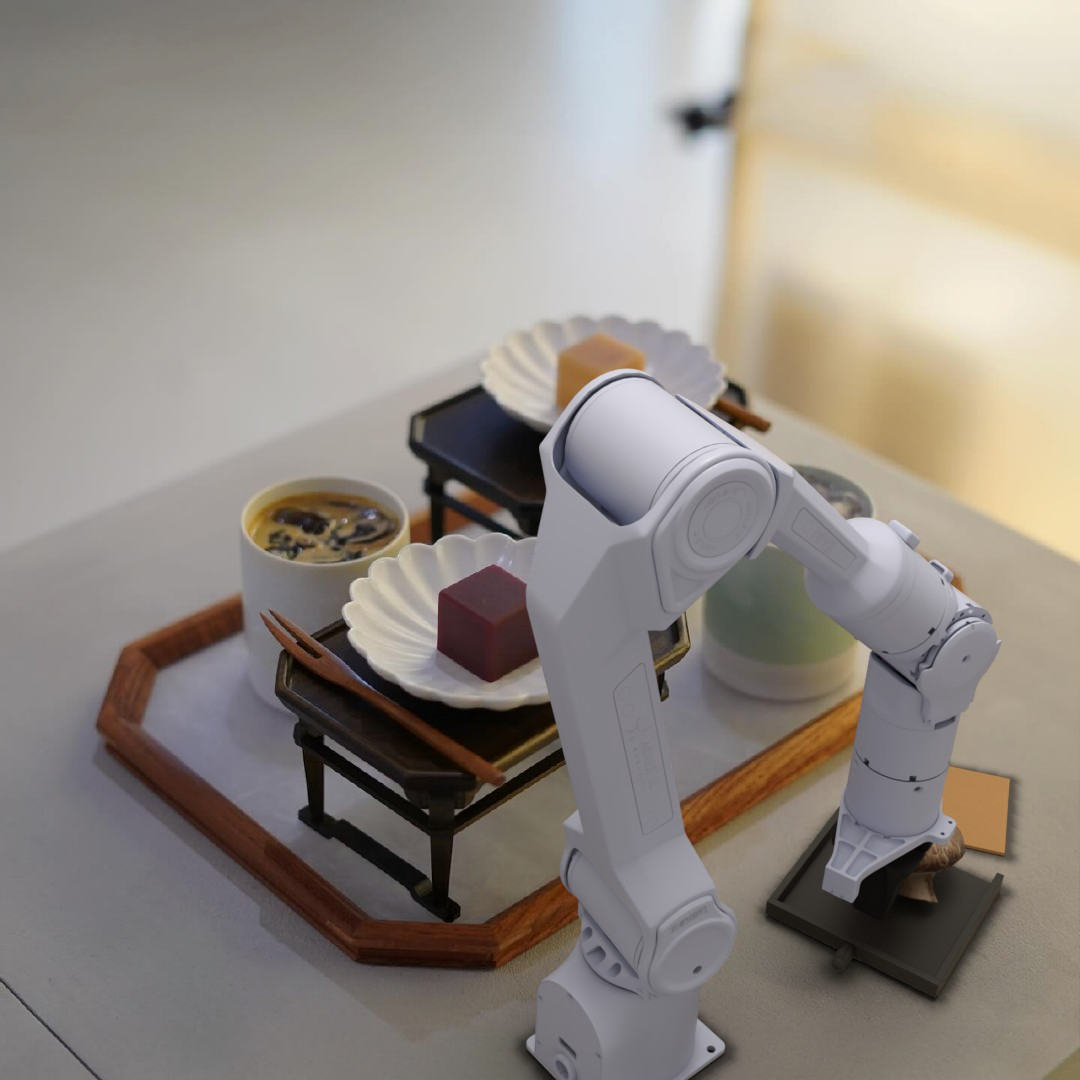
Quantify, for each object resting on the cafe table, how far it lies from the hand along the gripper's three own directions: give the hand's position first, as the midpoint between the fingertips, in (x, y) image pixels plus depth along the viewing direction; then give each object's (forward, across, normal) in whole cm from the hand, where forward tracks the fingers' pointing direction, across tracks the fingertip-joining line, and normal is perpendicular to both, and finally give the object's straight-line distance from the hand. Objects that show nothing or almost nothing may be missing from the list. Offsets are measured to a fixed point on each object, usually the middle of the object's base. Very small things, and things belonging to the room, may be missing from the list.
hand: (870, 907), depth 99 cm
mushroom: (+2, +5, 0) cm, 6 cm away
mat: (+2, +15, 0) cm, 15 cm away
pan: (+2, +2, 0) cm, 3 cm away
